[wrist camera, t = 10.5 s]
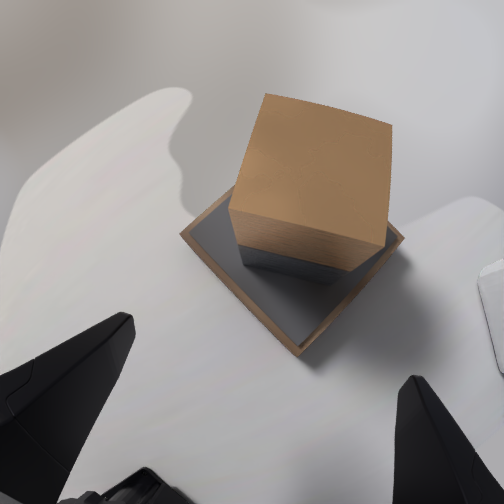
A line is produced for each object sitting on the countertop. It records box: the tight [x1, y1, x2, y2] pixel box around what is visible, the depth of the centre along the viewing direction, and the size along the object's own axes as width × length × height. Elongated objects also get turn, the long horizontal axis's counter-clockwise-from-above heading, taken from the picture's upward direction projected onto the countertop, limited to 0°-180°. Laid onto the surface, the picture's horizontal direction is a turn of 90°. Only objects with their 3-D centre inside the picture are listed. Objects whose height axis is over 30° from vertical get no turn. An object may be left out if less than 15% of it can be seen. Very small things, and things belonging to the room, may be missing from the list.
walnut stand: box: [180, 185, 404, 357], centre depth 21 cm, size 11×11×2 cm
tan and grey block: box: [228, 94, 392, 286], centre depth 15 cm, size 6×6×9 cm
